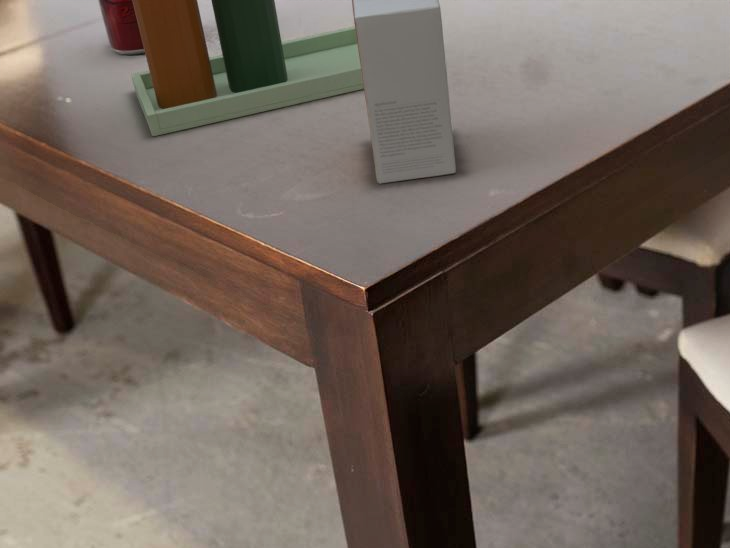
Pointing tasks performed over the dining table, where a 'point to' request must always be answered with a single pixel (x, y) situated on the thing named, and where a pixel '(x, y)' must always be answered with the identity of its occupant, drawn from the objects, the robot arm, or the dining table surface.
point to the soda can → (122, 26)
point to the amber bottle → (175, 51)
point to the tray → (305, 83)
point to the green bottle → (250, 43)
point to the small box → (405, 87)
